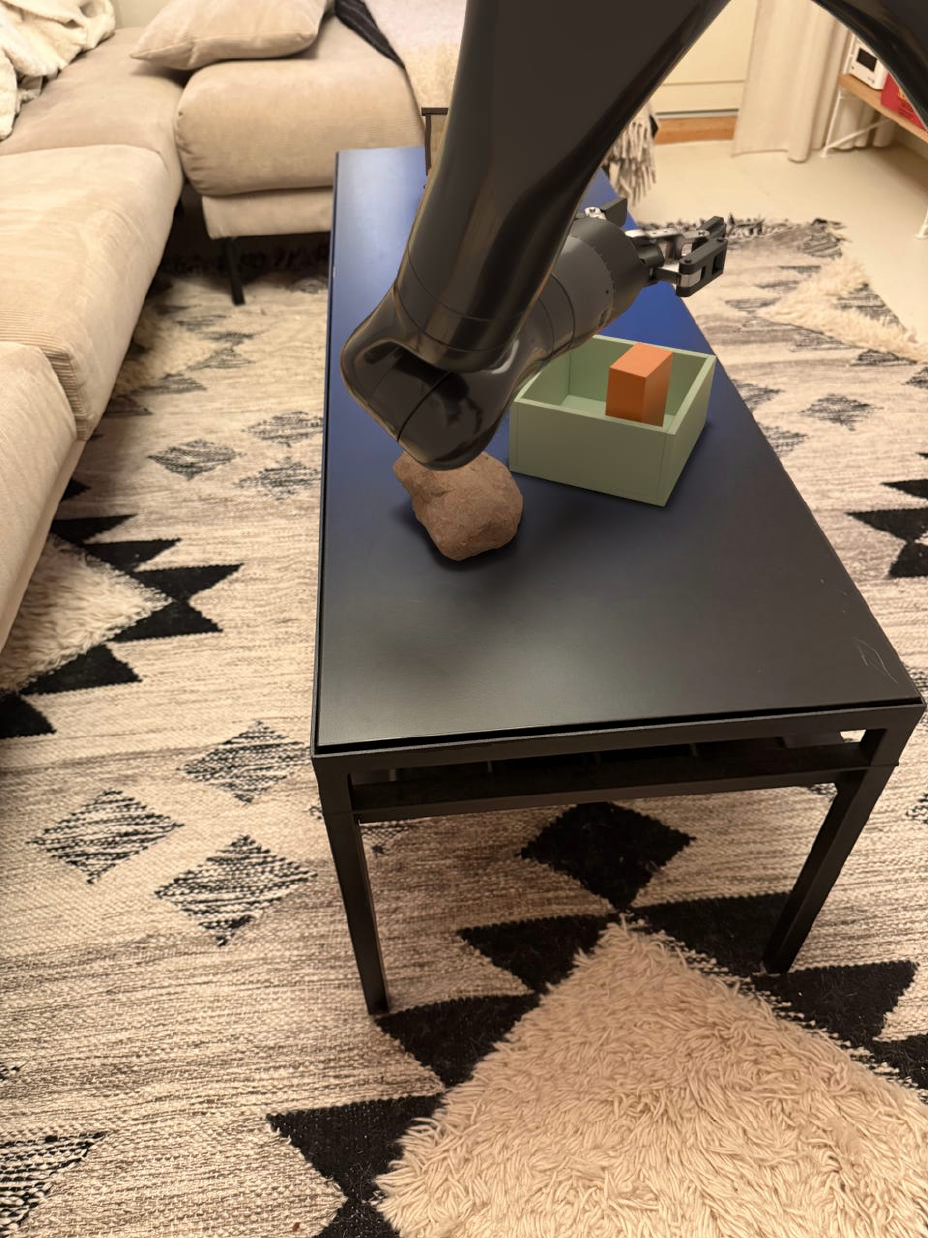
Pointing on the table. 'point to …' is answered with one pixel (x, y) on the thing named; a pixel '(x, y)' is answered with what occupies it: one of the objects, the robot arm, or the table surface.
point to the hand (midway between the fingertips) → (669, 218)
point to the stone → (463, 504)
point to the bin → (607, 424)
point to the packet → (639, 385)
